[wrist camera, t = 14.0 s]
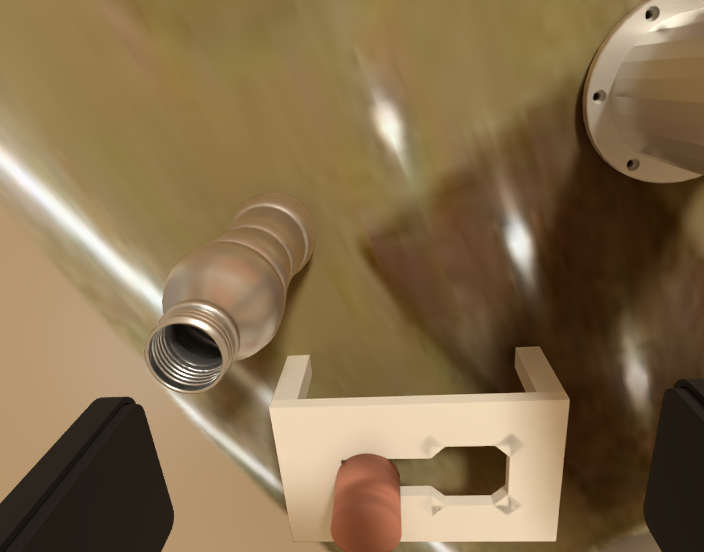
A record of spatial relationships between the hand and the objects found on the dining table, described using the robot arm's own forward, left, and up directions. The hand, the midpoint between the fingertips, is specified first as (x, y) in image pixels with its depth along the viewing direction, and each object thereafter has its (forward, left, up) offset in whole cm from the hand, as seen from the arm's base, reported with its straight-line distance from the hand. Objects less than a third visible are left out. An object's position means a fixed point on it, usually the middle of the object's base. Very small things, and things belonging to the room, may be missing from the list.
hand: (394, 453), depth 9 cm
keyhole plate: (-1, +23, -30) cm, 38 cm away
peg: (+3, +23, -29) cm, 37 cm away
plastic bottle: (+9, +4, -31) cm, 32 cm away
